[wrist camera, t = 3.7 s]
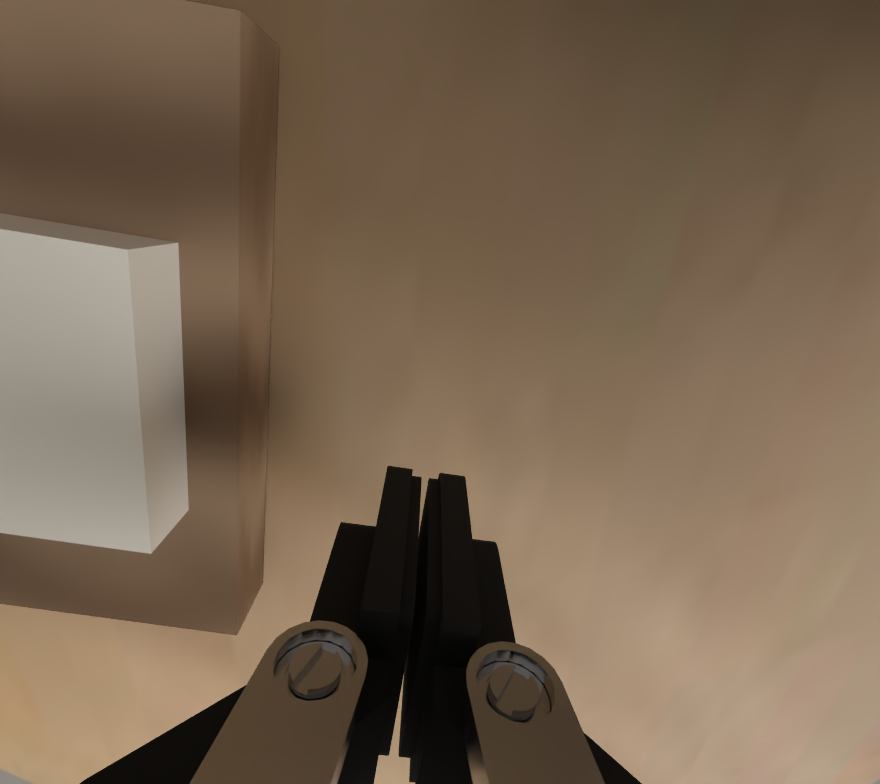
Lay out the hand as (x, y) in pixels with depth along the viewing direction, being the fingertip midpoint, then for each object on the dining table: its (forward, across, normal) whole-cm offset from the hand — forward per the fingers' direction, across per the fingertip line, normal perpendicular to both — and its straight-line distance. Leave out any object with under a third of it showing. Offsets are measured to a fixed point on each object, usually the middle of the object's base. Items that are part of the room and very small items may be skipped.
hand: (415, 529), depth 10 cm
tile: (+4, +10, -1) cm, 11 cm away
